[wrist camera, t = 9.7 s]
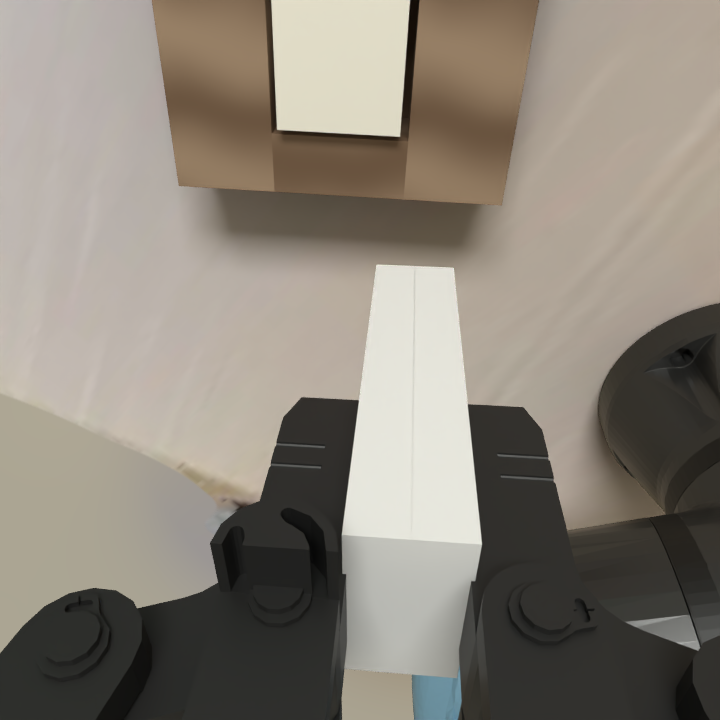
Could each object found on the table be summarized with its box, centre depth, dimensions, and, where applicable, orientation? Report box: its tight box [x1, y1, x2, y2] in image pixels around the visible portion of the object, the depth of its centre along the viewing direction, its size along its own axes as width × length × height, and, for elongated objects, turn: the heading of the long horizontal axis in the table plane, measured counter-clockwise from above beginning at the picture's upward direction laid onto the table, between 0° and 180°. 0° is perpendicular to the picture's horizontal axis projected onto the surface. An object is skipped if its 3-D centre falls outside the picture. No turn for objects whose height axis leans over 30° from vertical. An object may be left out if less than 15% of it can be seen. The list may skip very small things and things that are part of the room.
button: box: [271, 0, 410, 137], centre depth 28 cm, size 6×6×4 cm
